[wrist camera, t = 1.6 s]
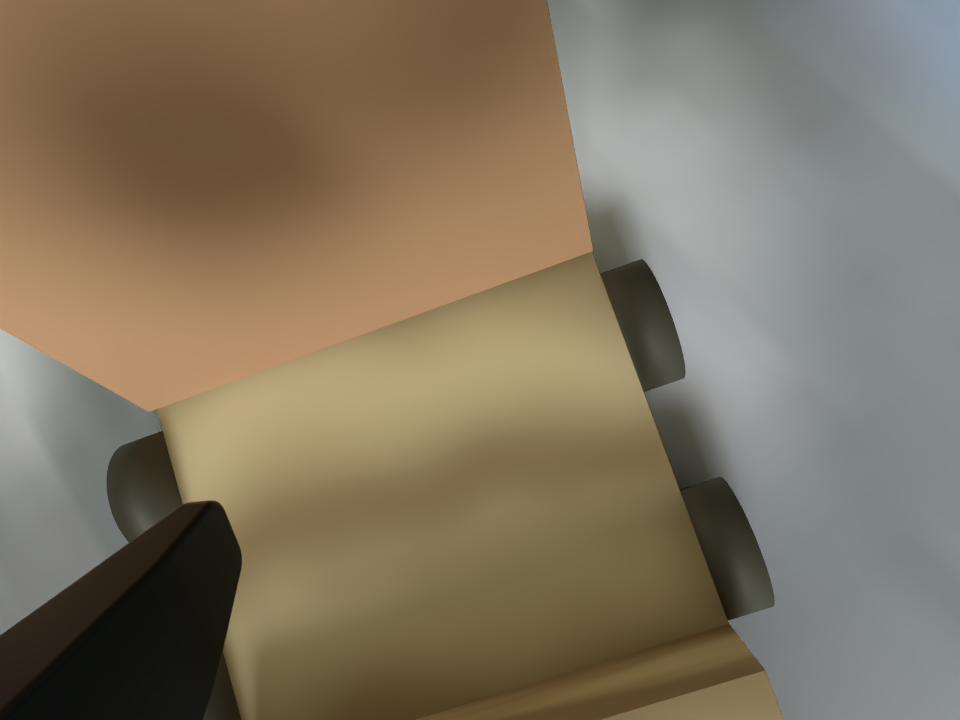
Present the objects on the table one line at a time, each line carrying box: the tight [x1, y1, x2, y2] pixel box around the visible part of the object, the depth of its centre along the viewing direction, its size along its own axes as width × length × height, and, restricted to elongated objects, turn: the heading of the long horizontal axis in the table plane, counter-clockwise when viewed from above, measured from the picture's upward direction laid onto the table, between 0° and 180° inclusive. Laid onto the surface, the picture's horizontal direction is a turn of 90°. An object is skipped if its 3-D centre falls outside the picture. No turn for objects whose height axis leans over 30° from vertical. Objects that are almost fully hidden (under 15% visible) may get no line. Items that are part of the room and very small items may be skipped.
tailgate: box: [0, 0, 593, 412], centre depth 16 cm, size 1×14×14 cm, turn 109°
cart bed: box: [107, 252, 784, 720], centre depth 20 cm, size 13×16×6 cm
